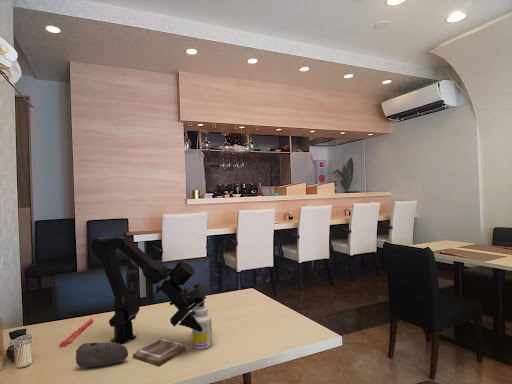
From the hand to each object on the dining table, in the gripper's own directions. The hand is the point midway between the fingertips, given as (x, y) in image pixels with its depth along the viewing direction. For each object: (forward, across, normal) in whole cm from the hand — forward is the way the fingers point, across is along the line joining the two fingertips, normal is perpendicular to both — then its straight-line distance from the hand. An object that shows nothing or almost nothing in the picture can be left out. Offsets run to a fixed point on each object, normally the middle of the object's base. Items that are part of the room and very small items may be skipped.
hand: (205, 326), depth 112 cm
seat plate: (-5, -8, +14) cm, 17 cm away
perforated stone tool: (-15, -17, +24) cm, 33 cm away
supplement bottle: (+4, 0, +6) cm, 7 cm away
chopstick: (-34, +2, +44) cm, 55 cm away
